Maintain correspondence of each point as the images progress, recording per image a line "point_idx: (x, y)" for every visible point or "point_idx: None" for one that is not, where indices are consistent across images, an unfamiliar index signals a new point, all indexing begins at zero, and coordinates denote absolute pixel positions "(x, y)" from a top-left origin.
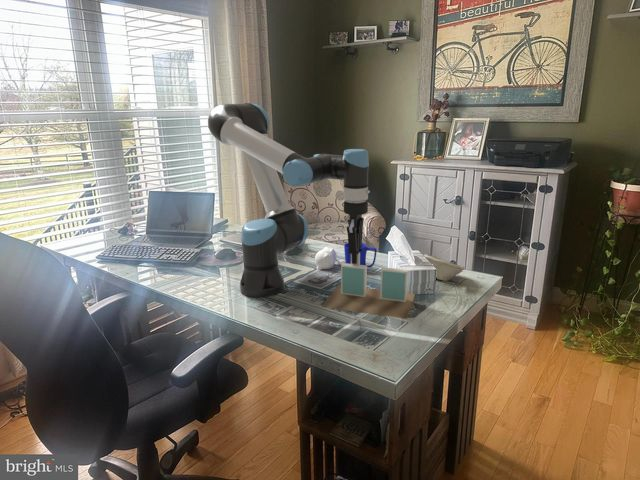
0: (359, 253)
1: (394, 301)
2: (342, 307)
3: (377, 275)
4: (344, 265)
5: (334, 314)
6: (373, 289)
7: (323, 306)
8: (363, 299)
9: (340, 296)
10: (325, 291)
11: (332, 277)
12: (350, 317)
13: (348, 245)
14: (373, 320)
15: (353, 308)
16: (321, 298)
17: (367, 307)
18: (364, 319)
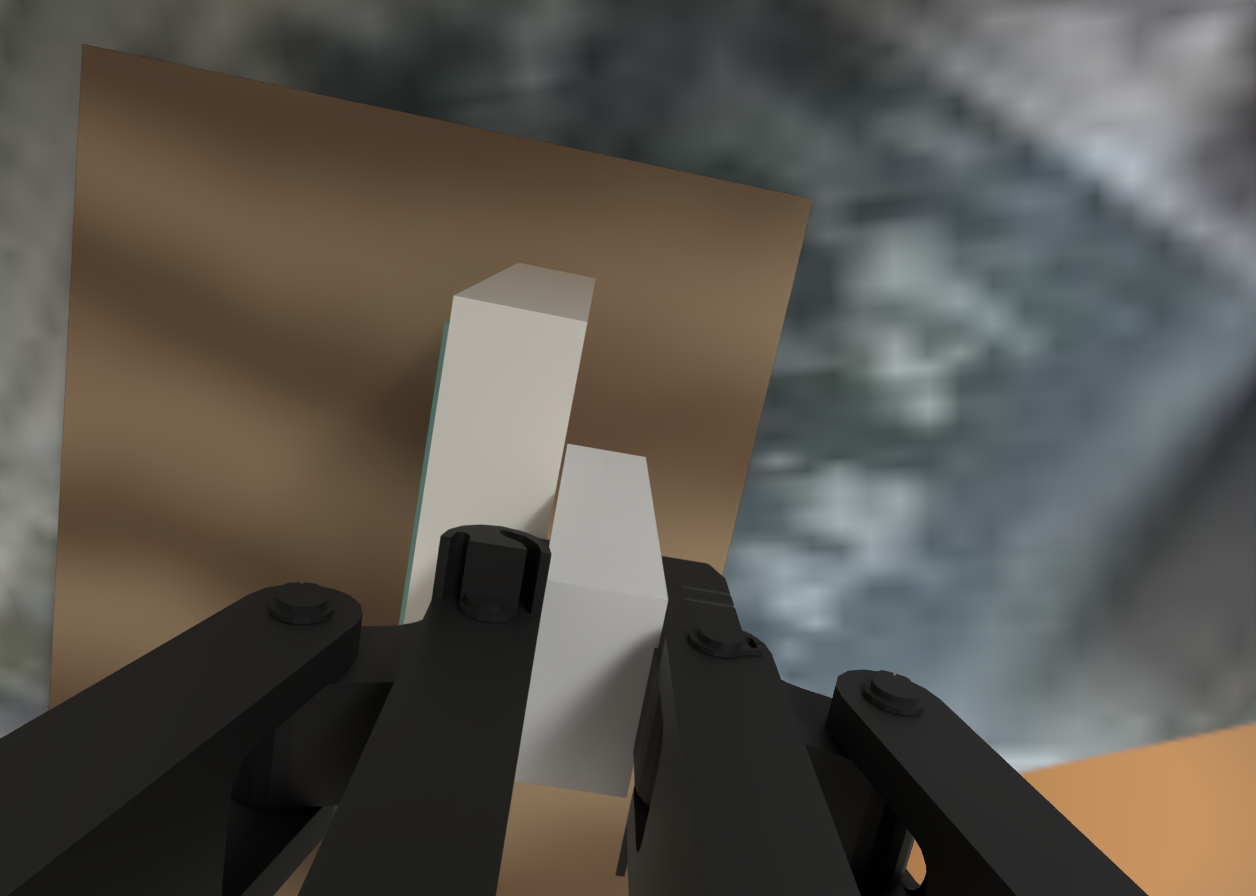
0: (570, 782)
1: None
2: (127, 316)
3: (1204, 645)
4: (442, 371)
5: (48, 227)
6: None
7: (99, 70)
8: (393, 539)
9: (437, 262)
10: (682, 30)
11: (1170, 74)
12: (23, 411)
13: (32, 720)
14: (20, 638)
15: (135, 444)
16: (456, 3)
17: (192, 591)
18: (17, 553)
